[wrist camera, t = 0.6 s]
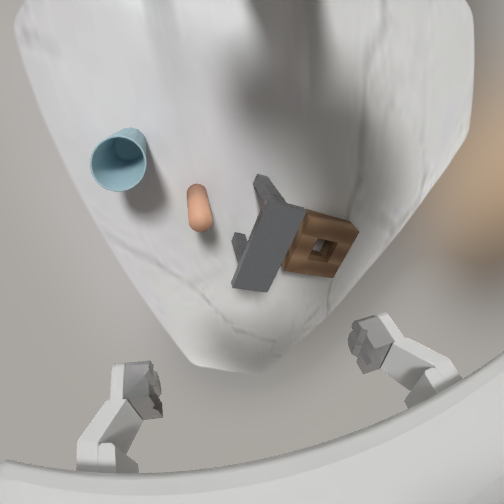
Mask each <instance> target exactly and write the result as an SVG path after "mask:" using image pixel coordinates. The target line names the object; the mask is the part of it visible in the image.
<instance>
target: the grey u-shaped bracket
mask: <svg viewBox="0 0 504 504" xmlns="http://www.w3.org/2000/svg"><path fill="white" fill-rule="evenodd" d="M253 185H254V186H255V188H256V190H257V192H258V193H259V195H260V197H261V198H262V200H263V202H264V203H263V205H262V208H261V210H260V213H259V215H258V217H257V220H256V222H255V225H254V227H253V230H252V232H251V235H250V237H249V240H248V241H247V239H246V236H245V234H241V233H236V232H235V233H234V236H233V239H232V244H233V248H234V251H235V254H236V257H237V261H238V264H239V265H238V267H237V269H236V272H235V274H234V277H233V279H232V282H231V284H232V288H237V289H245V290H253V291H260V292H268V290H269V288H270V286H271V284H272V282H273V280H274V278H275V276H276V274H277V272H278V270H279V268H280V266H281V264H282V262H283V260H284V258H285V256H286V254H287V252H288V249H289V247H290V245H291V243H292V241H293V239H294V237H295V235H296V233H297V231H298V229H299V227H300V224H301V222H302V220H303V218H304V216H305V214H306V210H305V209H304V208H303V207H299V206H295V205H292V204H288V203H286V201H285V200H284V198H283V197H282V196H281V194H280V193H279V192H278V190H277V189H276V187H275V186H274V185H273V183H272V182H271V181H270V179H269V178H268V177H267V176H263V175H259V174H257V176H256V178H255V181H254V183H253Z"/></svg>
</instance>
